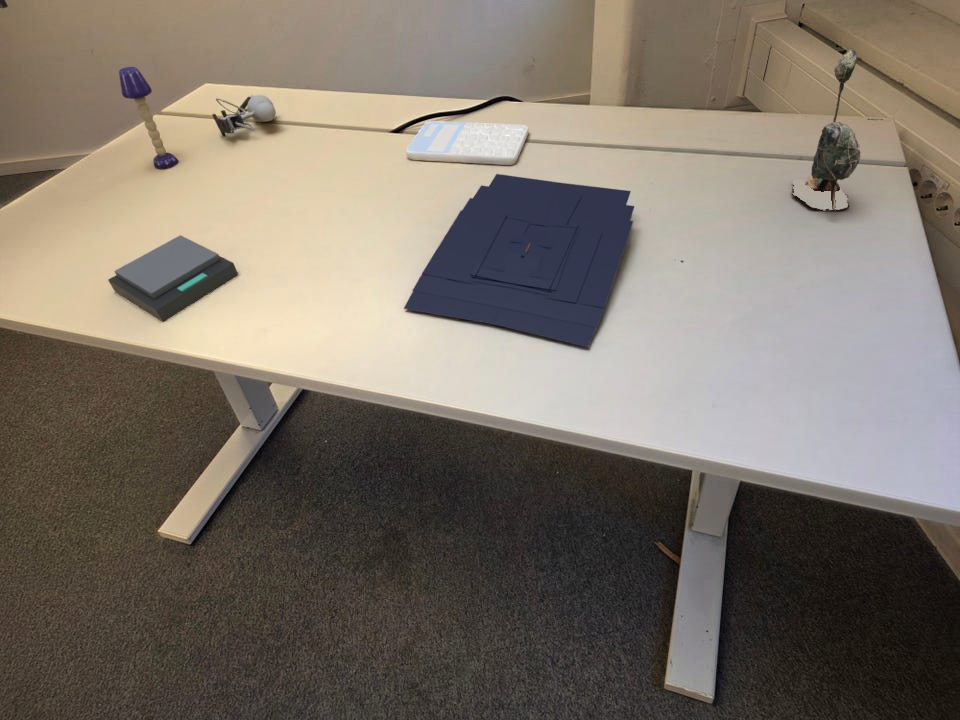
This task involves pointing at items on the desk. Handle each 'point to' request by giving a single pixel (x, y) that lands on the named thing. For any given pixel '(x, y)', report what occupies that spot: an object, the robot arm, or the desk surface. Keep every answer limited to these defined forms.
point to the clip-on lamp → (257, 109)
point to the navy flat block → (529, 258)
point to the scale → (172, 277)
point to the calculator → (468, 142)
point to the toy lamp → (145, 112)
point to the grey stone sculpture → (836, 142)
